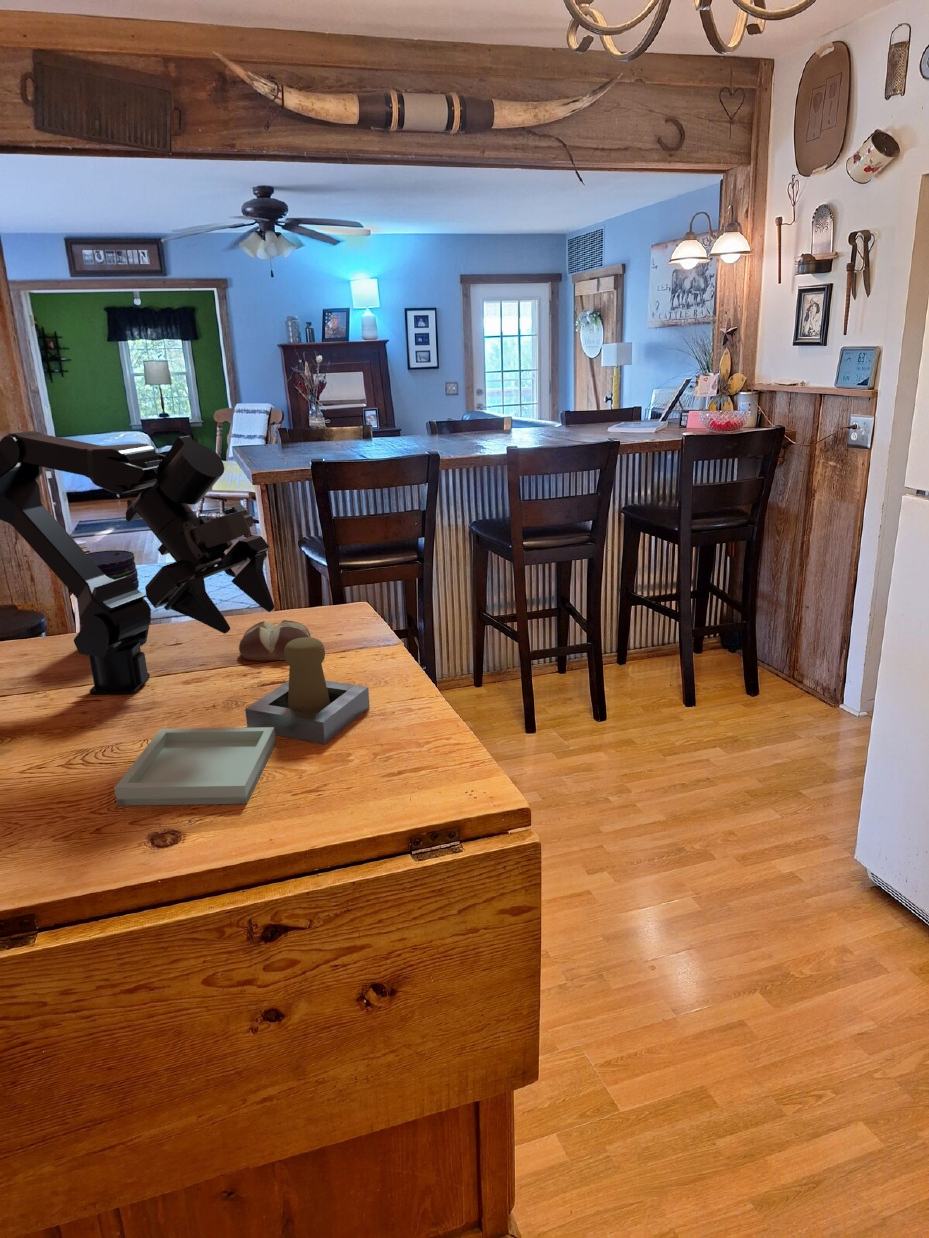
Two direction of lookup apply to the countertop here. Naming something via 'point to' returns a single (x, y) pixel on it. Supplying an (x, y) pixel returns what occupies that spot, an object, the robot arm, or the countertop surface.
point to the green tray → (197, 767)
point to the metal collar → (309, 713)
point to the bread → (270, 640)
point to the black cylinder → (116, 567)
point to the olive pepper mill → (306, 675)
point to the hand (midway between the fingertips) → (250, 620)
